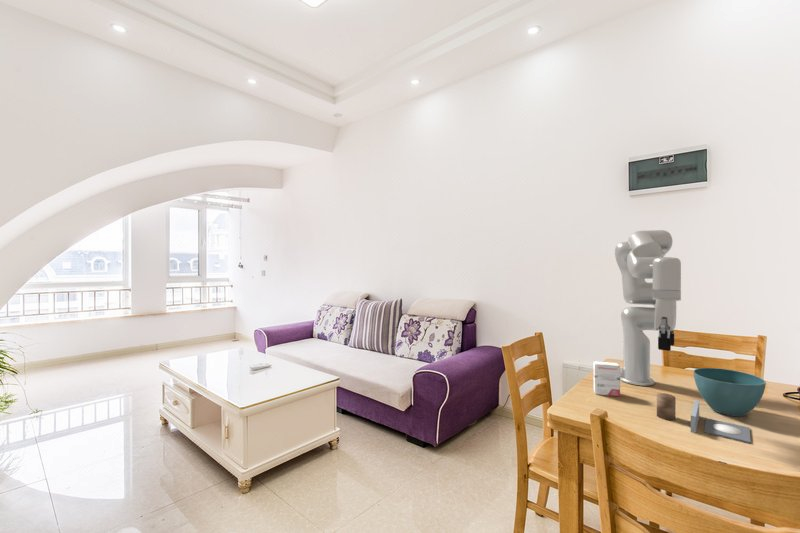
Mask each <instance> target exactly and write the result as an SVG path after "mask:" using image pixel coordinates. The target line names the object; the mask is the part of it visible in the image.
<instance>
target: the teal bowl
mask: <svg viewBox="0 0 800 533" xmlns="http://www.w3.org/2000/svg"><path fill="white" fill-rule="evenodd" d="M693 379H694V381H695V386H696V388H697V390H698V392H699V394H700V396H701V397H702V400H704V401H705V404H707V405H708V406H709V407H710V409H711V410H713V411H714V412H717V413H719V414H722V415H726V416H732V417H743V416H746V415H747V414H748V413H750V412H751V411H753V409H755V408H756V407H757V406H758V404H759V403H760V402H761V400H762V398H763V396H764V393H765V389H766V385H767V384H766V380H765V379H764V378H762V377H759V376H757V375H754V374H751V373H748V372H743V371H739V370H733V369H727V368H726V369H725V368H718V367H717V368H715V367H700V368H696V369H694V370H693Z"/></svg>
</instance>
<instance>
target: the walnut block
mask: <svg viewBox="0 0 800 533" xmlns="http://www.w3.org/2000/svg"><path fill="white" fill-rule="evenodd" d="M656 417H658V418H659V419H662V420H666V421H676V396H675V395H672V394H669V393H665V392H663V393H661V392H659V393H656Z"/></svg>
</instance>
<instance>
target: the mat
mask: <svg viewBox="0 0 800 533" xmlns="http://www.w3.org/2000/svg"><path fill="white" fill-rule="evenodd" d="M750 432H751V431H750V427H749V426H745V425H740V424H735V423H731V422H726V421H722V420H717V419H713V418H712V419H711V418H708V417H707V418H706V419H705V426H704V434H708V435H711V434H712V435H713V436H716V437H721V438H725V439H728V438H729V439H730V440H732V439H733V440H734V441H737V442H742V443H745V444H751V443H752V441H751V439H752V438H751V433H750ZM733 440H732V441H733Z"/></svg>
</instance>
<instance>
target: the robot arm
mask: <svg viewBox="0 0 800 533" xmlns="http://www.w3.org/2000/svg"><path fill="white" fill-rule="evenodd" d="M672 246H673V237H672V234H671V233H670V232H669V231H667V230H663V229H659V230H654V229H653V230H652V229H651V230H638V231H637V230H636V231H634V232H632V233H631V234H630V235H629V237H628V240H627V241H623V242H620V243H618V244H616V246H615V248H614V257H615V262H616V264H617V267H618V268H619V270H620V275H621V282H622V295H623V299H624V302H625V303H627V304H629V305H643V306H630V307H626V308H623V309H622V311H621V313H620V318H621V323H622V324H621V325H622V326H621V327H622V334H623V341H622V342H623V351H622V352H623V353H622V354H623V368H622V367H620V382H623V383H626V384H629V385H634V386H635V385H636V386H642V387H645V386H646V387H647V386H654V385H655V382H656V381H655V380H654V379H653V378H652V377H651V341H650V338H649V337H648V336H647V334H645V333H644V331H658V337H657V348H658V349H657V350H660V351H667V352H670V351H671V349H672V347H671V346H674V345H675V333H674V330H675V329H676V322H677V302H678V301H682V273H681V272H682V261H681V259H680V258H678V257H672V256H671V257H670V256H669V257H668V256H666V254H667V253H669V252H670V250H671V249H672ZM646 279H647V280H649V279H652V282H647V281H646ZM646 305H650V306H653V307H650V306H649V307H647V306H646Z"/></svg>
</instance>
